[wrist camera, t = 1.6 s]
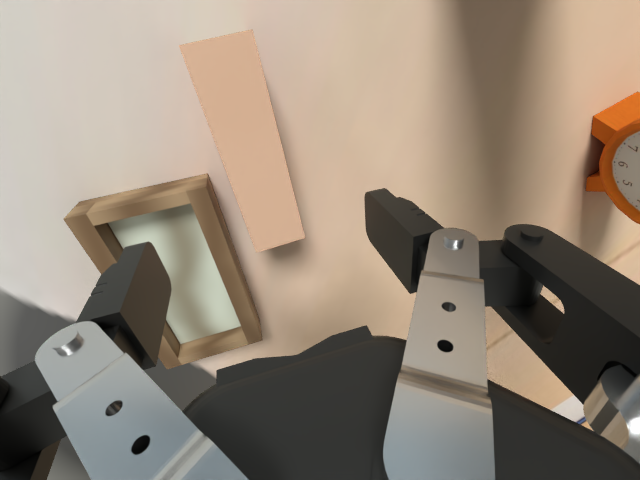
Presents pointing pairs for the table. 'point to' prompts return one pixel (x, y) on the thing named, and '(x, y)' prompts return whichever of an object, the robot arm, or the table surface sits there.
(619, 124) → the alarm clock
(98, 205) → the picture frame
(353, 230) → the table surface
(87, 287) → the table surface
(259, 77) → the strip
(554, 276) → the robot arm
